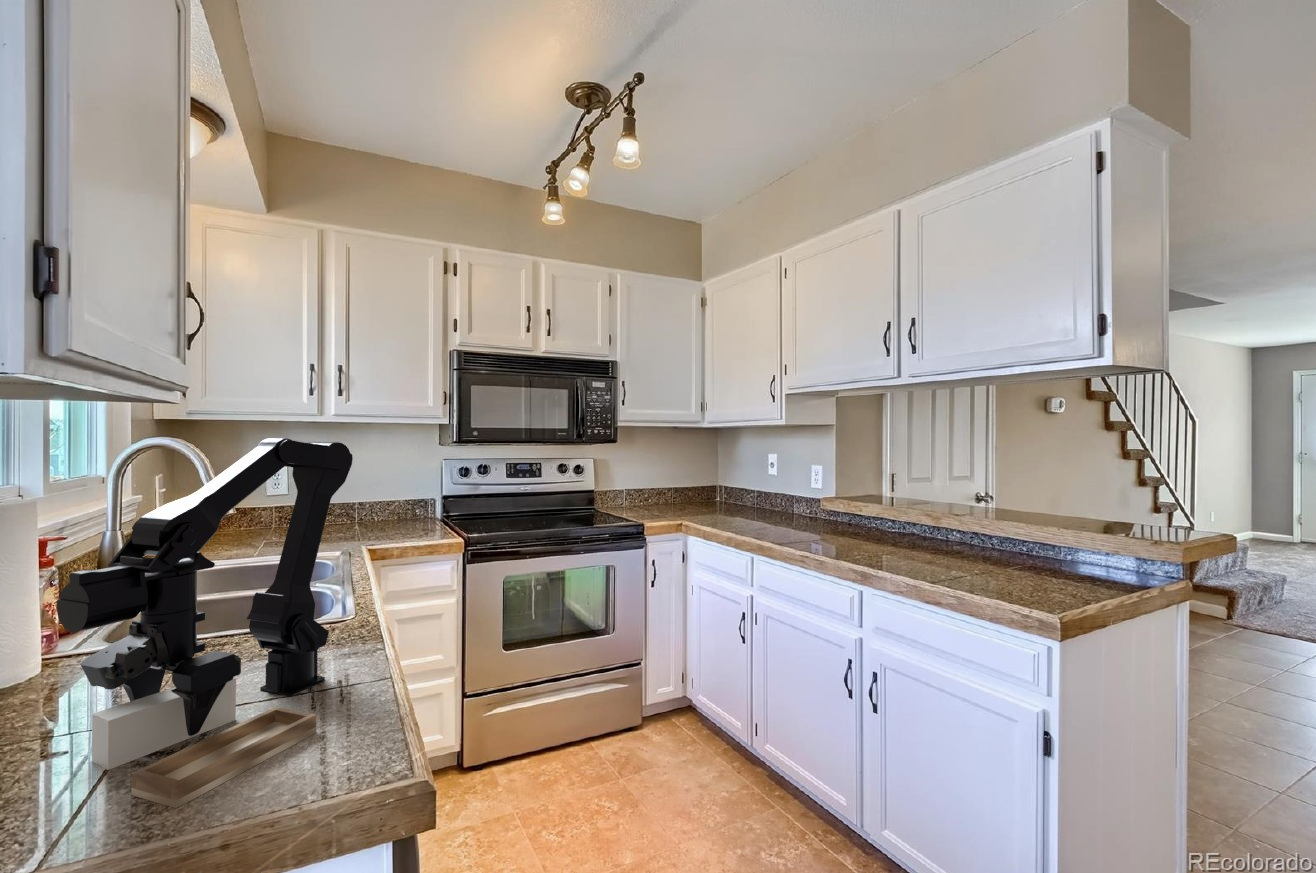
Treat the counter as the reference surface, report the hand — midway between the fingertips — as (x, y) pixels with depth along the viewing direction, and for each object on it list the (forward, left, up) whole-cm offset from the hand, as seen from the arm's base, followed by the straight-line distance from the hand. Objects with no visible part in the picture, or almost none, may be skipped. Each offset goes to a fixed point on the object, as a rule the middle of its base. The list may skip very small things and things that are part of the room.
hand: (169, 728), depth 78 cm
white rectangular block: (0, 0, -2) cm, 2 cm away
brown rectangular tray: (+1, +13, -1) cm, 13 cm away
